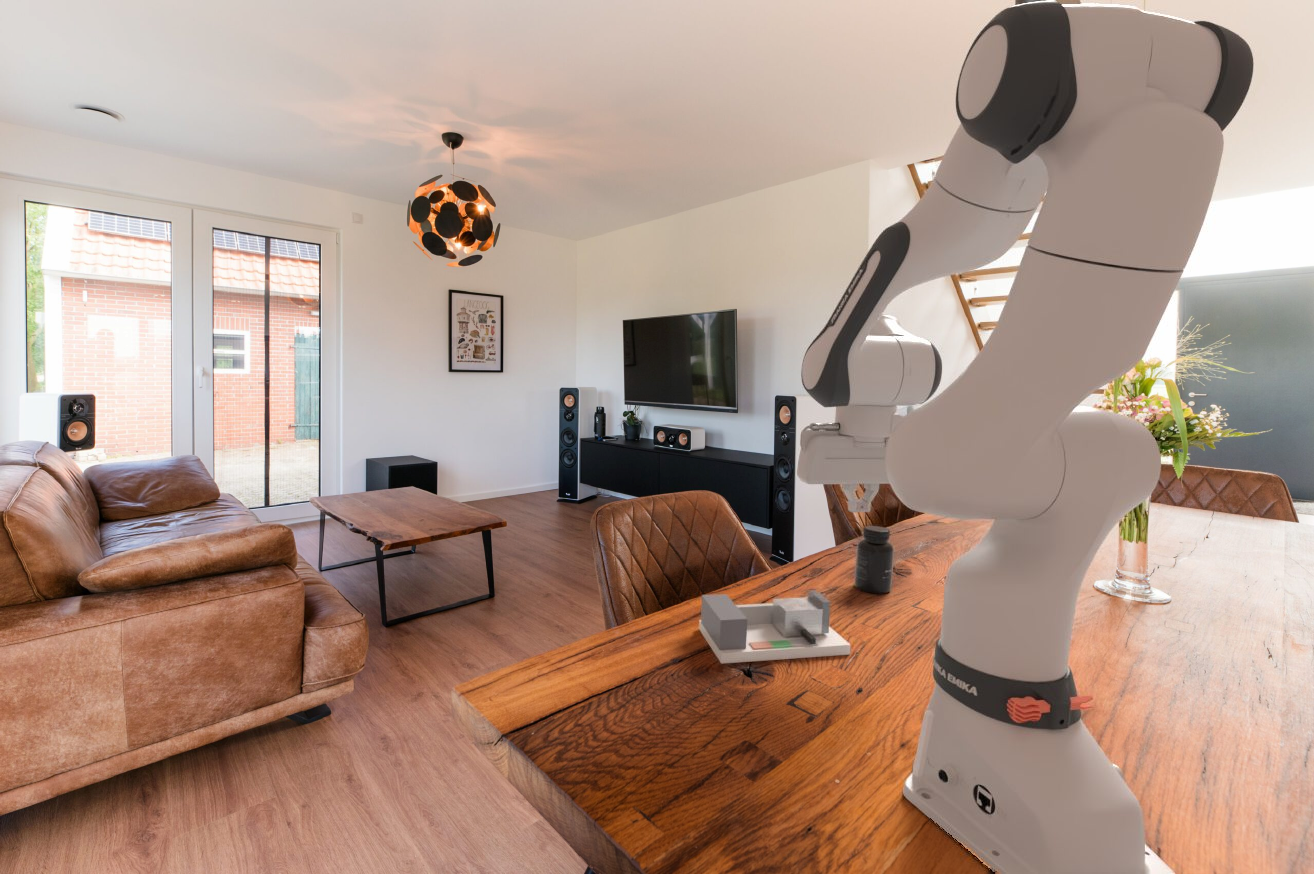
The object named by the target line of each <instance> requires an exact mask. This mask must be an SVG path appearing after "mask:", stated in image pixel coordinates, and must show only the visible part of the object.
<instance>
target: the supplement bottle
mask: <svg viewBox="0 0 1314 874" xmlns="http://www.w3.org/2000/svg"><path fill="white" fill-rule="evenodd" d="M890 532H891V531H890V529H889V528H887V527H884V526H877V525H868V526H867V525H866V526H864V527H863V533H862V538H863V539H861V540H859V541H858V543H857V544H856V545H857V546H856V555H855V556H856V558H855V567H854V568H855V572H854V586H855V587H856V589H858V590H860V591H862V592H865V593H868V594H875V595H876V594H878V595H879V594H888V593H889V592H890V591H891V588H892V581H893V580H892V579H893V568H894V567H893V566H894V558H895V557H894V555H895V553H894V552H895V548H894V546H893V545H892V544H891V542H889V541H890V539H891V538H890V535H891V533H890Z"/></svg>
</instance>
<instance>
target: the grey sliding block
mask: <svg viewBox="0 0 1314 874" xmlns="http://www.w3.org/2000/svg"><path fill="white" fill-rule="evenodd" d="M772 603H773V613H772V624H773V625H774V626H775V627H776V628H777V629H778V630H779V631H780V632H781V633H782V634H783V635H784V636H801V635H802V636H803V637H804V638H805V639H806V640H807V641H808V642H809V643H810V644H816V638H815V637H813V636H812V635H817V634H823V633H829V626H830V619H831V618H830V616H831V601H830V600H829V599H828V598H826V597H825V596H824V595H823V594H822V593H820V592H819V591H817V589H815V590H814V589H813V590H811V589H809V590H808V596H805V597H803V596H802V597H786V598H785V597H784V598H773V599H772Z"/></svg>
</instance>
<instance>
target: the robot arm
mask: <svg viewBox="0 0 1314 874" xmlns="http://www.w3.org/2000/svg"><path fill="white" fill-rule="evenodd" d="M964 58H965V59H964V61H963V64H962V66H961V70H960V73H959V76H958V81H957V84H956V92H955V109H956V110H955V111H956V114H957V115H956V116H957V117H958V119H959V121H960V124H959V126H958V128H957V130H956V131H955V133H954V135H953V137H952V138H951V140H950V142H949V144H948V146H947V149H946V150H945V153H944V155H943V156H942V158H941V161H940V164H939V166H938V168H937V170H936V172H935V175H934V177H933V179H932V181H931V183H930V184H929V186H928V188H927V189H926V191H925V192H924V193H923V196H921V198H920V199H919V200H918V202H917V203H916V204H915V205H914V206H912V208H911V209H910V211H909V212H907V214H906V215H905V216H903V217H902V218H901V219H900V220H898V221H897V222H895V223H893V224H891V225H890V226H888V227H886V228H884V229H883V230H882V232H881V233H880V234H879V235H878V237H877V238H876V239H875V241H874V242H873V244H872V245H871V247H870V249H869V250H868V252H867V253H866V254H865V257H864V258H863V260H862V261H861V263H860V265H859V266H858V268H857V270H856V272H855V274H853V277H852V278H851V281H850V282H849V284H848V286H847V287H846V289H845V291H844V292H843V294H842V296H841V298H840V300H839V301H838V303H837V304H836V307H835V309H833V312H832V313H831V316H830V317H829V320H828V321H827V322H826V324H825V325H824V327H823V328H822V330H821V331H820V332H819V333H818V335H816V337H815V338H814V339H813V341H811V343H810V345H809V346H808V347H807V349H806V351H805V353H804V356H803V359H802V364H801V371H800V373H801V375H800V376H801V383H802V387H803V388H804V389H805V391H806V392H807V394H808V395H809V396H810V398H811V397H812V399H813V400H815V402H817V403H818V404H819V405H821V406H822V407H824V408H834V407H835V417H834V422H825V423H820V422H812V423H810V424H809V425H807V426H806V427H804V428H803V429H802V430H801V433H800V438H799V440H800V441H799V442H800V443H799V445H800V451H799V455H798V461H797V467H796V469H797V470H796V475H797V477H798V478H799V481H800V482H803V483H805V484H806V485H807V484H808V485H842V486H841V487H842V488H841V489H842V491H843V493H844V494H845V497H846V499H847V500H848V501H847V510H848V511H849V512H850V513H871V512H870V511H871V507H872V501H873V500H874V499H875V497H876V496H877V494H878V493H879V490H880V485H882V484H883V485H885V484H886V485H887V484H888V485H890V488H891V489H892V491H893V492H894V494H895V496H896V498H898V499H899V500H900V501H901V502H902V504H903V505H905V506H906V507H907V508H908V509H910V510H912V511H915V512H919V513H925V514H928V515H932V516H937V517H942V518H948V519H953V520H959V521H972V520H973V521H974V520H983V521H985V520H993V522H992V524H991V526H990V528H989V530H988V531H987V532H986V534H985V535H984V537H982V539H981V540H980V541H979V542H978V543H977V544H976V545H975V546H974V547H972V548H971V549H970V550H967V552H965V553H962V554H961V555H960V556H959V557H958V558H957V559H955V560H954V561H953V562H952V563H951V564H950V566H949V568H948V571H947V572H946V575H945V579H944V591H943V604H942V616H941V627H940V629H941V630H940V637H939V638H938V639H937V640H936V642H935V646H934V647H935V649H934V652H933V656H932V664H933V668H932V676H933V677H932V678H933V680H934V681H935V683H934V684H935V685H934V689H933V692H932V694H931V697H930V699H929V701H928V702H929V703H928V704H927V707H926V708H925V711H924V714H923V717H922V718H923V719H922V722H921V728H920V732H919V738H918V742H917V747H916V749H917V750H916V754H915V758H914V760H913V762H912V763H913V764H912V772H911V773H910V774H909V775H908V777H907V778H906V779H905V781H904V783H903V789H902V794H903V796H904V797H905V798H906V800H907V801H909V802H910V803H911V804H912V805H913V806H915V807H916V808H917V809H918V810H919V811H920V812H921V813H923V814H924V815H925V816H927V817H928V818H929V819H930V818H931V819H932V820H933V821H935V822H934V823H935V824H936V823H937V824H938V825H939V826H940V827H939V826H938V825H937V824H936V825H937V826H938V827H939V828H941V827H942V828H943V829H944V830H945V831H946V832H947V833H946V832H945V831H944V830H943V829H942V828H941V829H942V830H943V831H944V832H945V833H946V834H948V833H949V834H950V835H952V836H953V837H954V838H955V839H957V840H958V841H960V842H962V843H963V844H964V845H965V846H967V848H969V849H971V851H972V852H973V853H975V854H976V855H977V856H978V857H979V858H981V860H983V862H985V863H986V864H987V865H988V866H990V867H991V868H993V869H995V871H997V872H999V873H1001V874H1176V873H1175V871H1173V870H1172V869H1171V868H1170V867H1169V866H1168V864H1166V862H1164V861H1163V859H1162V858H1161V857H1159V856H1158V855H1157V854H1156V853H1155V852H1154V851H1153V850H1152V849H1151V848H1150V847H1149V846H1148V845H1147V844H1146V834H1145V832H1146V831H1145V830H1146V829H1145V821H1144V815H1143V810H1142V806H1141V804H1140V802H1139V800H1138V798H1137V796H1136V795H1135V794H1134V793H1133V791H1132V790H1131V788H1130V787H1129V786H1128V784H1127V783H1126V778H1125V776H1124V773H1123V771H1122V770H1121V768H1120V767H1119V766H1118V765H1117V764H1115V763H1113V762H1111V761H1110V759H1109V758H1108V756H1107V755H1106V754H1105V752H1104V751H1103V749H1102V748H1101V747H1100V745H1099V744H1098V741H1096V740H1095V737H1094V736H1093V735H1092V733H1091V732H1090V731H1089V729H1088V728H1087V726H1086V725H1085V724H1084V722H1083V720H1082V719H1081V718H1082V710H1086V709H1092V708H1093V705H1091V704H1086V703H1088V702H1090V701H1092V700H1094V696H1093V695H1083V696H1082V695H1081V696H1078V692H1077V688H1076V684H1075V679H1074V675H1073V672H1072V669H1071V668H1070V666H1069V657H1070V651H1071V650H1070V649H1071V641H1072V633H1073V627H1074V619H1075V614H1076V607H1077V602H1078V597H1079V594H1080V591H1081V587H1082V584H1083V583H1084V579H1085V577H1086V575H1087V572H1088V570H1089V568H1090V566H1091V564H1092V562H1093V560H1094V558H1095V557H1096V555H1097V553H1098V551H1099V550H1100V548H1101V546H1102V545H1103V543H1104V541H1105V540H1106V539H1107V537H1108V536H1109V534H1110V533H1111V531H1112V530H1113V529H1114V528H1115V526H1116V525H1117V524H1118V523H1119V522H1120V521H1121V520H1122V519H1123V518H1124V517H1125V516H1126V515H1127V514H1128V513H1130V512H1131V511H1132V510H1134V509H1136V508H1137V507H1138V506H1140V505H1141V504H1142V503H1144V502H1145V501H1146V500H1147V499H1148V498H1149V497H1150V496H1151V495H1152V494H1153V492H1154V490H1155V489H1156V487H1157V485H1158V483H1159V479H1160V475H1161V472H1162V471H1161V470H1162V457H1161V452H1160V448H1159V445H1158V442H1157V441H1156V439H1155V437H1154V435H1153V434H1152V432H1151V431H1150V430H1149V429H1148V428H1147V426H1145V425H1144V424H1143V423H1141V422H1140V421H1139V420H1137V419H1135V418H1134V417H1133V418H1132V417H1130V416H1126V415H1124V414H1120V413H1117V412H1113V411H1110V410H1104V409H1100V408H1097V407H1093V406H1086V405H1080V404H1081V403H1083V402H1084V400H1086V399H1087V398H1088V397H1089V396H1091V395H1092V394H1093V393H1094V392H1096V391H1097V390H1099V389H1101V388H1103V387H1104V386H1107V385H1108V384H1110V383H1112V382H1113V381H1116V380H1118V379H1120V378H1122V376H1124V375H1127V374H1128V373H1129V372H1130V371H1131V370H1132V369H1134V368H1135V367H1136V366H1137V365H1138V364H1139V362H1140V361H1142V359H1143V358H1144V356H1145V354H1146V353H1147V350H1148V347H1149V345H1150V343H1151V341H1152V339H1153V337H1154V336H1155V334H1156V330H1157V329H1158V327H1159V324H1160V322H1161V320H1162V318H1163V316H1164V313H1165V312H1166V309H1167V308H1168V306H1169V303H1170V301H1171V299H1172V296H1173V294H1174V292H1175V291H1176V288H1177V286H1178V285H1179V283H1180V282H1179V281H1180V280H1181V277H1182V275H1183V273H1184V270H1185V268H1186V267H1187V264H1188V262H1189V260H1190V257H1191V255H1192V252H1193V251H1194V248H1195V246H1196V243H1197V241H1198V238H1199V236H1200V233H1201V230H1202V228H1203V225H1204V222H1205V219H1206V216H1207V213H1208V210H1209V207H1210V204H1211V201H1212V198H1213V195H1214V194H1213V193H1214V190H1215V186H1216V183H1217V179H1218V176H1219V170H1220V167H1221V161H1222V157H1223V154H1224V143H1225V142H1224V134H1223V132H1224V130H1225V129H1226V128H1227V127H1228V126H1229V125H1230V123H1231V122H1232V121H1233V119H1234V118H1236V117H1235V116H1236V115H1237V113H1238V112H1239V110H1240V108H1241V107H1242V105H1243V103H1244V101H1245V99H1246V98H1247V95H1248V93H1249V90H1250V87H1251V84H1252V79H1253V74H1254V57H1253V52H1252V48H1251V47H1250V45H1249V44H1248V42H1247V41H1246V40H1245V39H1244V38H1243V37H1242V36H1240V35H1239V34H1237V33H1236V32H1234V31H1232V30H1231V29H1229V28H1226V27H1225V26H1222V25H1219V24H1217V23H1213V22H1211V21H1208V20H1197V21H1189V20H1185V19H1182V18H1178V17H1175V16H1171V15H1166V14H1160V13H1155V12H1150V11H1149V12H1148V11H1144V10H1142V9H1140V8H1138V7H1136V6H1130V5H1120V4H1101V3H1100V4H1099V3H1096V4H1095V3H1080V4H1076V3H1075V4H1062V3H1061V2H1058V1H1056V0H1039V1H1031V2H1027V3H1021V4H1016V5H1013V6H1009V7H1007V8H1004V9H1002V10H1001V11H1000V12H998V13H997V14H996V15H995V16H994V17H993V18H992V19H991V20H990V21H989V22H988V23H987V24H986V25H985V26H984V27H983V28H982V29H981V31H980V32H979V34H977V36H976V37H975V39H974V40H973V42H972V44H971V46H970V48H969V50H968V52H967V54H966V57H964ZM1043 198H1044V199H1043ZM1042 200H1043V202H1042ZM1041 202H1042V205H1041V208H1040V209H1039V212H1038V214H1037V217H1036V220H1035V222H1034V225H1033V227H1032V230H1031V233H1030V235H1029V238H1028V241H1027V244H1026V246H1025V249H1024V252H1023V254H1022V257H1021V260H1020V263H1019V265H1018V266H1019V267H1018V269H1017V272H1016V274H1015V277H1014V280H1013V282H1012V285H1011V287H1010V289H1009V293H1008V295H1007V297H1006V301H1005V304H1004V305H1003V308H1002V311H1001V313H1000V315H999V317H998V320H997V323H996V325H994V328H993V330H992V332H991V333H990V335H989V337H988V339H987V340H986V342H985V343H984V345H983V347H982V348H981V350H980V351H979V352H978V353H977V355H976V356H975V357H974V359H972V361H971V362H970V363H969V364H968V366H967V367H966V368H965V369H964V371H962V373H961V374H960V375H959V376H958V377H957V378H956V379H955V380H954V381H953V382H952V383H950V384H949V386H948V387H946V388H945V389H944V390H943V391H942V392H940V394H938V395H936V396H935V397H934V398H932V399H931V400H929V399H930V398H931V397H932V396H933V395H934V394H935V393H936V392H937V390H938V388H939V386H940V384H941V381H942V375H943V361H942V357H941V355H940V353H939V351H938V349H937V347H936V346H935V344H933V343H932V342H931V341H930V340H929V339H926V338H921V337H918V336H915V335H914V334H911V333H910V332H908V331H906V330H904V329H903V328H902V327H901V323H900V320H899V319H898V318H897V317H894V316H892V315H889V314H883V313H884V312H885V310H886V309H887V307H888V306H889V304H890V303H891V302H892V301H893V300H894V299H895V298H897V297H898V296H900V295H901V294H902V293H904V292H906V291H907V290H909V289H912V288H914V287H916V286H919V285H921V284H924V283H928V282H930V281H931V282H932V281H934V280H937V279H941V278H945V277H949V276H953V275H957V274H961V273H962V274H963V273H967V272H971V271H974V270H975V271H976V269H977V270H978V269H981V268H982V267H985V266H987V265H990V264H991V263H993V262H995V261H997V260H998V259H1000V258H1001V257H1003V256H1004V255H1005V254H1006V253H1008V251H1010V249H1011V248H1012V247H1013V246H1014V245H1015V244H1016V243H1017V242H1018V240H1019V239H1020V238H1021V236H1022V235H1023V233H1024V232H1025V230H1026V229H1027V227H1028V226H1029V223H1030V222H1031V220H1032V218H1033V217H1034V215H1035V213H1036V211H1037V210H1038V207H1039V206H1040V204H1041ZM928 400H929V401H928ZM926 401H928V402H927V403H925V402H926ZM914 405H915V406H916V405H922V406H920V407H918V408H915V409H914V410H912V411H910V412H909V413H907V414H905V415H902V414H899V413H897V407H899V406H900V407H901V406H906V407H907V406H914ZM858 485H863V488H864V489H866V490H865V491H864V492H863V493H864V494H863V495H862V497H861V498H857V497H856V494H855V492H856V491H858ZM931 819H930V820H931ZM932 820H931V821H932ZM933 821H932V822H933ZM949 834H948V835H949ZM950 835H949V836H950ZM955 839H954V840H955Z"/></svg>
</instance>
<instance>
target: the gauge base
mask: <svg viewBox="0 0 1314 874" xmlns="http://www.w3.org/2000/svg"><path fill="white" fill-rule="evenodd" d="M700 613H701V615H700V619H699V620H698V630H699V631H700V633H701V634H702V636H703V638H704V639H705V641H706V642H707V644H708V645H709V647H710V649H711V650H712V652H713V653H714V655H715V656H716V657H717V659H718V661H719V663H720V664H734V663H747V662H748V663H749V662H762V661H763V662H764V661H776V660H777V661H778V660H789V659H790V660H792V659H802V658H803V659H805V658H818V657H820V658H821V657H835V656H846V655H847V656H849V655H851V647H852V646H851V644H850V643H849V642H848V641H847V640H846V639H845V638H843V636H841V635H840V634H839V633H837V631H835V629H833V628H832V627H831V626H830V625H829V633H823V634H817V635H812V636H813V637H815V638H816V644H810V643H809V642H808V641H807V640H806V639H805V638H804V637H803V636H802V635H801V636H784V635H783V634H782V633H781V632H780V631H779V630H778V629H777V628H776V627H775V626H774V625H773V624H772V613H773V602H770V603H768V602H767V603H752V604H751V603H747V604H735V602H733V600H732V599H731V598H730V597H729V595H728V594H727V593H719V594H718V593H717V594H701V612H700Z"/></svg>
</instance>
